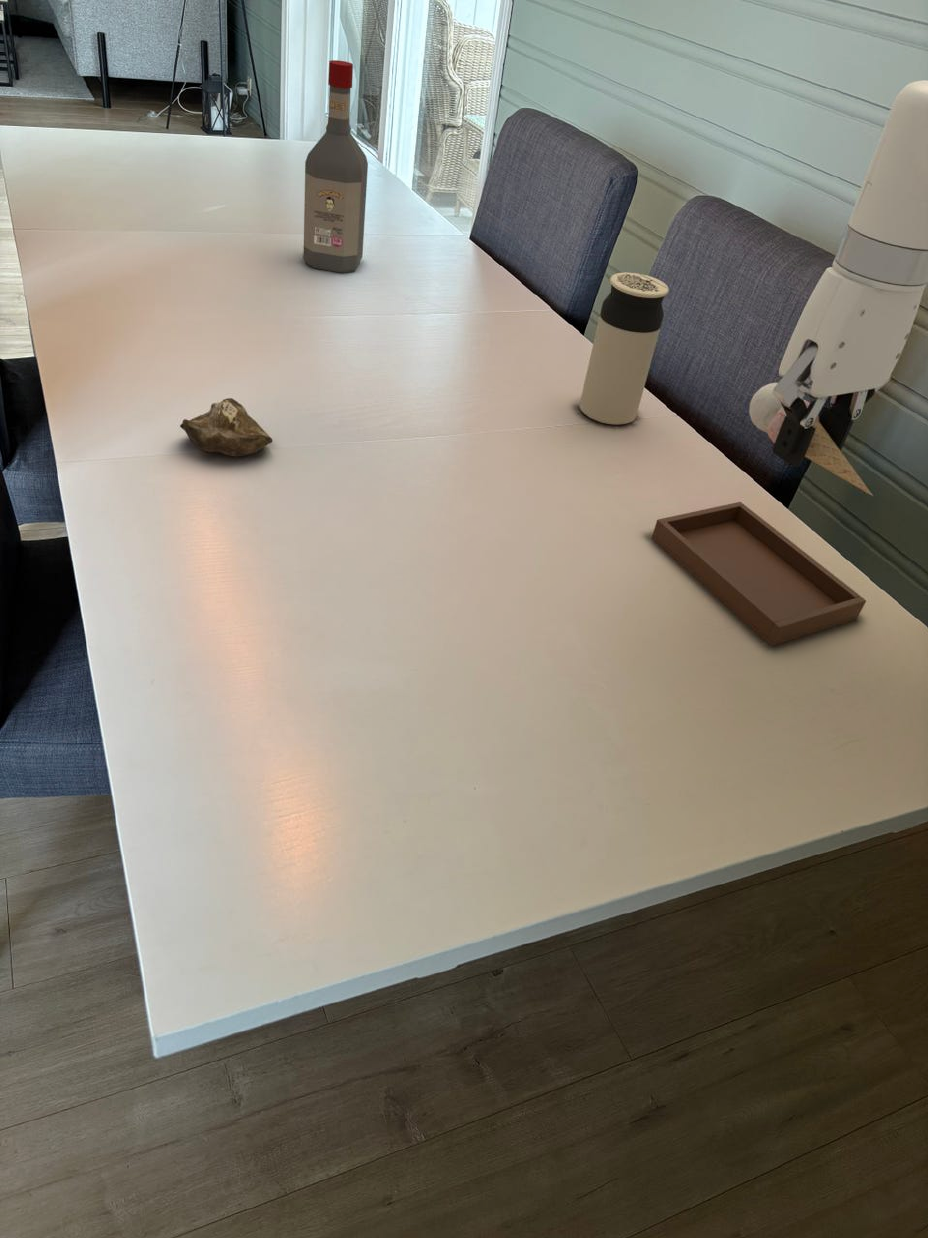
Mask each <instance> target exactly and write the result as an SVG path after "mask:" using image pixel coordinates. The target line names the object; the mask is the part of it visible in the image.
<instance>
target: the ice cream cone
mask: <svg viewBox="0 0 928 1238" xmlns="http://www.w3.org/2000/svg"><path fill="white" fill-rule="evenodd" d="M777 384H778V382H771V383H768V384H766V385H764V386H761V387H760V388H758V390H757V391H756V392H755V393H754V394H753V396H752V399H751V400H750V403H749V409H748V410H749V411H748V413H749V416H750V419H751V422H752V423H753V425H754V426H755V427H756V428H757V429H759V430H760V431H761V432H764V433H767V437H768V438H769V439H770V440H771V441H772V443H773V444H775V441H776V439H777V436H778V434H779V431H780V428H781V426H782V423H783V421H784V418H785V415H783V413H782V411H783V406H782V404H781V402H780V401H779V400H778V399H777V398H776V397H775V395H774V394H773V389H774V387H775V386H776V385H777ZM802 400H804V402H805V404H806V407H807V408H808V406H809V404H810V402H809V401H807V400H806V399H804V398H803V399H802ZM819 417H820V415H818V416H817V418H816V419H815V421H814V423H813V424H812V426H813V427H814V428H816V430H815V433H814V435H813V437H812V440H811V442H810V445H809V447H808V450H807V452H806V454H805V457H804V458H807V459H808V460H810V461H812V462H813V463H815V464H817V465H819V466H820V467H822V468H824V469H825V470H827V471H829V472H831V473H832V474H834V475H836V476H837V477H839V478H841V479H842V480H845V481H846V482H848V483H849V484H851V485H853V486H854V487H856V488H858V489H859V490H861V491H863V492H864V493H866V494H867V495H869V496H872V497H874V495H873V493H871V491H870V490H869V488H868V487H867V485H866V484H865V482H864V481H863V480H862V478H861V477H860V476H859V474H858V473H857V472H856V471H855V469H854V467H853V466H852V465H851V463H850V461H848V459H847V458H846V456H845V455H844V454H843V452H842V450H841V451H840V450H839V448H838V447H837V446H836V444H835V443H834V442H833V440H832V439H831V437H830V436H829V435H828V433H827V432H826V431H825V429H824V428H823V426H822V425H821V424H820V422H819Z"/></svg>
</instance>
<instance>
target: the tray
mask: <svg viewBox="0 0 928 1238" xmlns="http://www.w3.org/2000/svg"><path fill="white" fill-rule="evenodd" d="M651 539H652V540H653V541H654V542H655V543H656V544H658V545H659V546H660V547H661V548H662V549H663V550H664V551H665V552H666V553H668V555H670V556H671V557H672V558H673V559H674V560H675V561H677V562H678V564H680V565H681V566H682V567H683V568H684V569H685V570H686V571H688V573H690V574H691V575H692V576H693V577H694V578H695V579H696V580H697V581H698V582H700V583H701V585H703V586H704V587H705V588H706V589H707V590H708V591H709V592H711V593H712V594H713V595H714V596H715V597H716V598H717V599H718V600H720V602H721V603H722V604H724V605H725V606H726V607H727V608H728V609H729V610H730V611H731V612H732V613H733V614H734V615H736V616H737V617H738V618H739V619H740V620H741V621H742V622H743V623H745V624H746V625H747V626H748V627H749V628H750V629H751V630H752V631H753V632H755V633H756V634H757V635H758V636H759V637H760V639H762V640H763V641H765V642H766V643H767V645H769V646H770V647H773V646H777V645H779V644H783V643H786V642H789V641H792V640H795V639H798V638H801V637H804V636H808V635H811V634H814V633H817V632H821V631H824V630H826V629H827V630H828V629H829V628H832V627H836V626H839V625H843V624H845V623H848V622H849V623H850V622H851V621H855V620H857V619H858V618H859V616H860V614H861V612H862V610H863V608H864V607H865V605H866V602H867V600H866V599H865V598H864V597H863V596H861V595H860V594H859V593H858V592H857V591H855V590H853V589H852V588H851V587H850V586H848V585H847V584H846V583H845V582H844V581H842V580H841V579H840V578H839V577H837V576H836V575H835V574H834V573H832V572H831V571H830V570H828V569H827V568H826V567H824V566H823V565H822V564H821V563H819V562H818V561H816V560H815V559H814V558H813V557H812V556H810V555H809V554H808V553H807V552H806V551H804V550H803V549H801V547H799V546H798V545H797V544H796V543H794V542H792V541H791V540H790V539H789V538H787V537H786V536H785V535H784V534H782V533H781V532H780V531H779V530H777V529H776V528H775V527H774V526H772V525H771V524H770V523H768V521H765V520H764V519H763V518H762V517H761V516H759V515H758V514H757V513H755V511H753V510H752V509H750V507H748V506H746V505H745V504H744V503H743V502H742V501H737V502H733V503H728V504H723V505H718V506H713V507H709V508H704V509H700V510H696V511H689V512H687V513H681V514H676V515H672V516H667V517H663V518H659V519H656V523H655V526H654V529H653V532H652V535H651Z"/></svg>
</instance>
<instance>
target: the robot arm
mask: <svg viewBox="0 0 928 1238" xmlns="http://www.w3.org/2000/svg"><path fill="white" fill-rule="evenodd" d="M927 284H928V80H926V79H923V80H917V81H912V82H910V83H908V84H906V85H905V86H903V88H902V89H901V90H899V92H898V94H897V95H896V96H895V98H894V101H893V103H892V106H891V108H890V111H889V113H888V116H887V118H886V121H885V123H884V126H883V129H882V132H881V135H880V136H879V140H878V142H877V144H876V147H875V150H874V153H873V155H872V158H871V161H870V164H869V166H868V169H867V172H866V174H865V177H864V180H863V183H862V185H861V187H860V190H859V193H858V195H857V199H856V201H855V204H854V206H853V208H852V212H851V214H850V217H849V219H848V222H847V225H846V227H845V230H844V232H843V235H842V238H841V240H840V243H839V246H838V249H837V251H836V254H835V257H834V259H833V262H832V266H829V267H827V268H826V269H825V271H823V274H822V275H821V277H820V279H818V282H817V283H816V285H815V287H814V288H813V291H812V292H811V294H810V296H809V298H808V300H807V302H806V304H805V306H804V308H803V310H802V312H801V314H800V317H799V319H798V321H797V324H796V325H795V327H794V330H793V332H792V334H791V337H790V339H789V341H788V344H787V347H786V349H785V352H784V354H783V357H782V360H781V362H780V366H779V369H778V375H779V376H780V378H781V379H780V380H779V381H778V382H777V383H778V384H777V385H776V386H775V387H774V389H773V394H774V395H775V397H776V398H777V399H778V400H779V401H780V402H781V404H782V406H783V411H782V413H783V415H785V418H784V421H783V423H782V426H781V428H780V431H779V434H778V436H777V439H776V441H775V443H773V446H772V452H773V454H774V455H776V456H777V457H779V459H781V460H782V461H784V462H786V463H787V464H789V465H790V466H791V467H793V468H797V467H800V466H802V464H803V461H804V460H805V458H806V457H805V454H806V452H807V450H808V447H809V445H810V442H811V440H812V437H813V435H814V433H815V430H816V428H814V427H813V426H812V424H813V423H814V421H815V419H816V418H817V416H819V422H820V424H821V425H822V426H823V428H824V429H825V431H826V432H827V433H828V435H829V436H830V437H831V439H832V440H833V442H834V443H835V444H836V446H837V447H838V448H839V450H840V451H841V452H842V449H843V447H844V445H845V442H846V440H847V438H848V435H849V433H850V432H851V428H852V427H853V424H854V420H857V419H858V418H860V416H861V414H862V412H863V409H864V406H865V404H866V403H868V402H869V401H870V400H871V399H872V398H873V397H874V395H875V393H876V392H878V391H879V390H880V389H881V388H883V387H884V386H885V385H887V384H888V383H889V382H890V380H891V378H892V373H893V371H894V369H895V368H896V365H897V363H898V361H899V359H900V357H901V355H902V352H903V350H904V348H905V345H906V343H907V340H908V338H909V336H910V333H911V331H912V327H913V324H914V323H915V319H916V316H917V314H918V310H919V307H920V304H921V301H922V297H923V294H924V290H925V289H926V286H927ZM811 382H812V383H811ZM810 383H811V384H810ZM805 395H806V396H808V397H809V398H811V401H810V402H809V403H810V404H809V406H808V408H807V407H806V404H805V402H804V400H805V399H804V397H805ZM828 397H830V401H829V403H830V404H829V405H825V403H826V401H827V400H828ZM802 399H803V400H802ZM819 414H820V415H819Z"/></svg>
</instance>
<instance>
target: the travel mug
mask: <svg viewBox="0 0 928 1238" xmlns="http://www.w3.org/2000/svg"><path fill="white" fill-rule="evenodd" d="M609 283H610V292H609V293H608V295H607V296H606V297H605V298H604V300H603V301H602V305H601V309H600V314H599V317H598V322H597V326H596V330H595V334H594V339H593V342H592V343H593V344H592V347H591V352H590V356H589V361H588V365H587V370H586V374H585V378H584V382H583V386H582V391H581V396H580V400H579V405H578V406H579V409H580V411H581V412H582V413H583V414H584V415H586V417H588V418H589V419H592V420H593V421H596V422H598V423H601V424H606V425H612V426H613V425H615V426H616V425H617V426H618V425H619V426H620V425H627V424H629V423H632V422H633V421H635V419H636V418H637V414H638V411H639V408H640V404H641V400H642V397H643V394H644V390H645V386H646V382H647V378H648V374H649V371H650V367H651V364H652V360H653V356H654V353H655V350H656V346H657V342H658V338H659V335H660V331H661V328H662V324H663V320H664V317H665V313H664V307H663V301H664V298H665V297H666V296H667V295H668V294H669V292H670V290H669V287H668V285H667V284H666V283H665V282H664V281H662V280H660V279H658V278H655V277H654V276H650V275H646V274H642V273H637V272H618V273H614V274H613V275H611V276H610V279H609Z"/></svg>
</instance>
